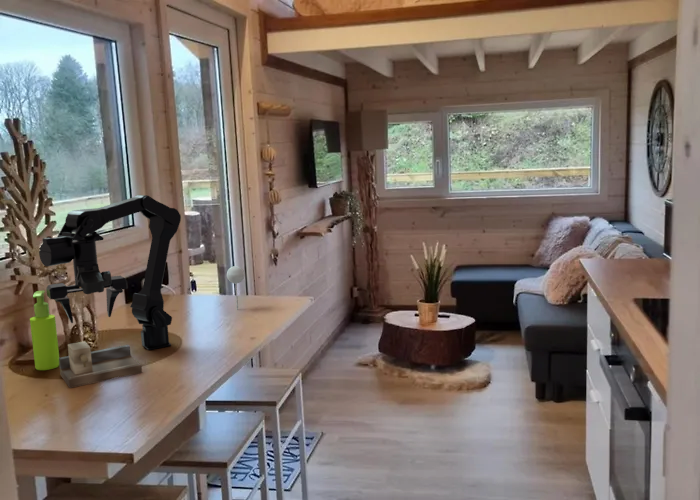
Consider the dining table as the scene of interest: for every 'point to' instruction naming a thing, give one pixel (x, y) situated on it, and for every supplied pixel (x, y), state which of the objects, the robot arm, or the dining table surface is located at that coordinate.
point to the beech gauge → (80, 357)
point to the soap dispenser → (44, 335)
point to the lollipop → (235, 277)
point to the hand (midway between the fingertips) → (90, 319)
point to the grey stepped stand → (102, 366)
